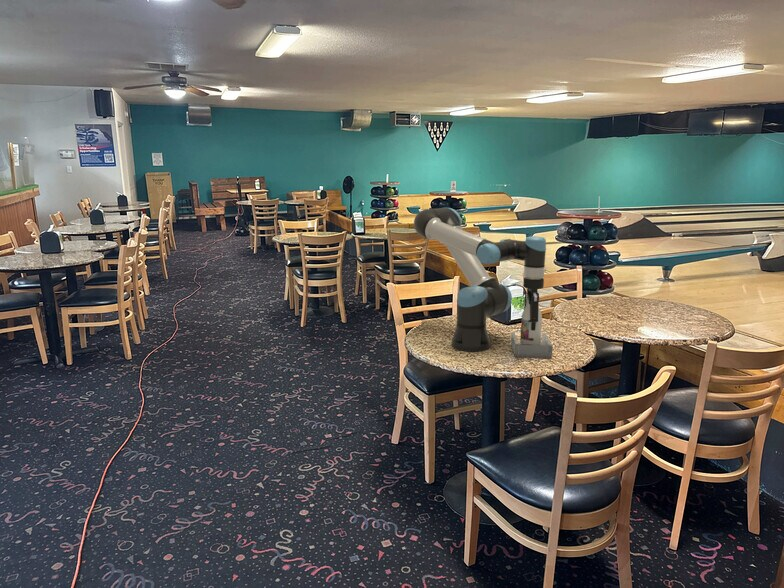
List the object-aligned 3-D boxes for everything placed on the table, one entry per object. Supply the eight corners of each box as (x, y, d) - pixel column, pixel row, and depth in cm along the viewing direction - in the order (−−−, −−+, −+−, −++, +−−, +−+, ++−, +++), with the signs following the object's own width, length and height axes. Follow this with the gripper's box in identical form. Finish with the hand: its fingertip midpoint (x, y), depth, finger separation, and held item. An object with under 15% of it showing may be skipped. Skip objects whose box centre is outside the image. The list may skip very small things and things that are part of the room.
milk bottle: (533, 340, 211) (535, 292, 206) (544, 346, 204) (547, 296, 199) (516, 342, 208) (518, 293, 204) (527, 348, 201) (530, 298, 197)
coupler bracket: (515, 357, 198) (516, 344, 197) (510, 343, 213) (511, 332, 212) (551, 358, 196) (552, 345, 195) (544, 344, 212) (545, 332, 211)
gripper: (548, 283, 190) (544, 343, 195) (539, 272, 209) (536, 327, 215) (527, 282, 190) (524, 342, 196) (520, 272, 210) (517, 326, 215)
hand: (530, 334), depth 205 cm, fingers closed on milk bottle, 8 cm apart
